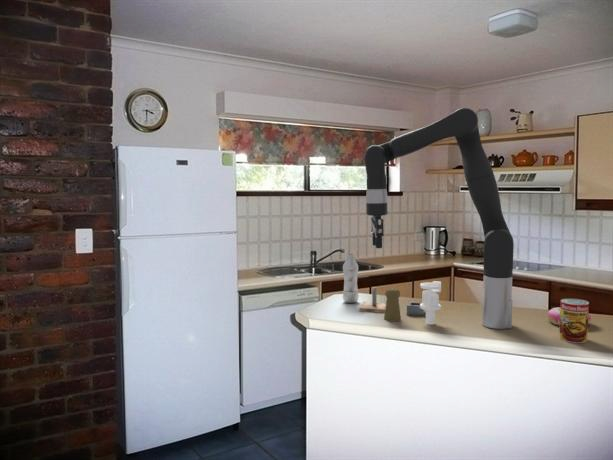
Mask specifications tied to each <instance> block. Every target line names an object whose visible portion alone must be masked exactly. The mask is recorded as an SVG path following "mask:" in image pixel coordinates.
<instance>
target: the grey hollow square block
mask: <svg viewBox="0 0 613 460" xmlns="http://www.w3.org/2000/svg"><path fill="white" fill-rule="evenodd" d="M421 303H422V302H417V301H416V302H415V301H408V302H407V304H406V315H408V316H418V315H421V316H420V317H424V315H425V310H424V309H421V308H420V304H421Z"/></svg>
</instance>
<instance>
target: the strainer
mask: <svg viewBox="0 0 613 460" xmlns="http://www.w3.org/2000/svg"><path fill="white" fill-rule="evenodd" d="M419 287H420V288H421V289H423V291H421V292H422V293H421V295H422V296H421V297H422V299H421V302H420V303H421V304H420V308H421V309H424V311H425V324H426V325H429V326H432V325H433V326H434V325H435V323H436V321H435V320H436V319H435V318H436V316H435V315H436V311H439V310H441V309H442V305H441V304H440V303H439V301H440V299H439V298H440V293H441V292H442V281H438V280H437V281H436V280H432V282H431V281H430V282H428V281H427V282H421V283H420V284H419Z"/></svg>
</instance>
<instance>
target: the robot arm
mask: <svg viewBox="0 0 613 460" xmlns="http://www.w3.org/2000/svg"><path fill="white" fill-rule="evenodd" d="M480 135H481V134H480V130H479V117H478V115H477V113H476V112H475V111H474V110H473V109H471V108H469V107H460V108H458V109H457V110H455V111H453V112H452V113H450V114H448V115H446V116H444V117H443V118H441V119H439V120H437V121H435V122H433V123H431V124H429V125H427V126H424V127H421V128H418V129H415V130H412V131H409V132H406V133H404V134H401V135H399V136H397V137H394V138H392V139H391V140H390V141H388V142H385V143H384V142H383V143H382V144H379V145H376V144H373V145H371V146H368V147H367V148H366V150H365V153H364V165H365V172H366V195H365V200H366V201H365V203H366V204H365V208H366V209H365V210H366V213H365V214H366V215H367V216H371V217H370V233H371V237H372V246H375V248H376V249H383V237H384V235H385V234H384V218H382V216H386V215H388V192H387V191H388V190H387V175H386V172H385V164H387V163H390V162H392V161H394V160H395V159H398V158H403V157H404V156H407V155H409V154H414V153H415V152H418V151H420V150H423V149H425V148H427V147H428V146H430V145H432V144H435V143H437V142H439V141H442V140H445V139H448V138H452V137H454V138H455V140H456V143H457V146H458V148H459V152H460V154H461V160H462V169H463V173H464V177H465V182H466V185H467V189H468V193H469V195H470V197H471V198H470V199H471V200H472V204H473V205H474V207H475V209H476V211H477V213H478V216H479V218H480V222H481V225H482V230H483V236H484V238H483V239H484V240H483V281H482V283H483V285H482V288H483V289H482V290H483V291H482V317H481V319H482V320H481V322H482V326H483V327H486V328H490V329H495V330H496V329H498V330H501V329H502V330H505V329H512V325H513V323H512V322H513V299H512V298H513V270H514V252H515V251H514V250H515V249H514V244H515V243H514V238H513V235H512V233H511V232H510V229H509V226H508V224H507V223H506V220H505V218H504V214H503V211H502V207H501V205H502V204H501V199H500V198H501V197H500V192H499V187H498V184H497V179H496V176H495V174H494V170H493V168H492V166H491V162H490V160H489V158H488V156H487V154H486V152H485V150H484V147H483V144H482V141H481V136H480Z"/></svg>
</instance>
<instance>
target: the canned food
mask: <svg viewBox="0 0 613 460" xmlns="http://www.w3.org/2000/svg"><path fill="white" fill-rule="evenodd" d="M559 307H560V326H559V329H558V330H559V333H558V336H559V337H558V338H559V339H560V340H561V341H564V342H568V343H575V344H583V343H587V342H588V337H589V336H588V335H589V334H588V333H589V324H588V313H589V308H590V302H589V301H587V300H584V299H579V298H562V299H560V305H559ZM589 314H590V313H589Z"/></svg>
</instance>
